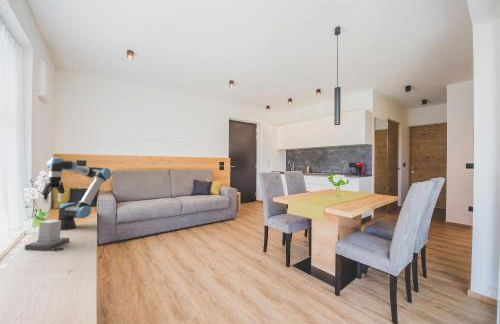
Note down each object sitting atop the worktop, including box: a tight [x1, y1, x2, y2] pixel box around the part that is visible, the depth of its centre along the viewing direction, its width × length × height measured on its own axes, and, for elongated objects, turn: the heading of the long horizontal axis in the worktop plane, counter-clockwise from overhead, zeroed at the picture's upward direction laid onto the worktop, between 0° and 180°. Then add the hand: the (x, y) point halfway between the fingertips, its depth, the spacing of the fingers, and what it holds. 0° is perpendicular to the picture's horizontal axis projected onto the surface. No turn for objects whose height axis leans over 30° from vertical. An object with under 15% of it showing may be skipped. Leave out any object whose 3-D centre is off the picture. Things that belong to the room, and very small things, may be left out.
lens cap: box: [52, 246, 65, 252], centre depth 158 cm, size 6×6×1 cm
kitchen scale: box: [24, 236, 70, 251], centre depth 164 cm, size 19×16×4 cm
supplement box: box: [37, 219, 62, 243], centre depth 165 cm, size 9×9×15 cm
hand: (52, 202), depth 183 cm, fingers open, 13 cm apart
